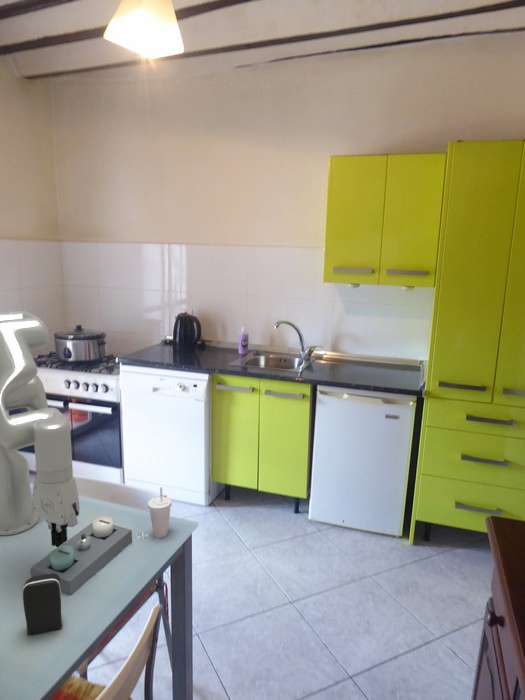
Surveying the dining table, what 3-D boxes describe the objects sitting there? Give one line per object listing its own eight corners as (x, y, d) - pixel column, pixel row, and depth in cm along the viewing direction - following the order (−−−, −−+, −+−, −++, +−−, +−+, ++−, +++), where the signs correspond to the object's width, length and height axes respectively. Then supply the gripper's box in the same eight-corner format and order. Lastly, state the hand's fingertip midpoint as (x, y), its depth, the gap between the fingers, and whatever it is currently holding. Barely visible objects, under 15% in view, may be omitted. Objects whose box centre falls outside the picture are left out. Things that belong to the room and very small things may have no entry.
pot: (75, 549, 118) (74, 536, 117) (83, 542, 121) (82, 530, 120) (84, 552, 117) (83, 539, 116) (93, 545, 120) (92, 533, 119)
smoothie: (167, 542, 127) (165, 494, 124) (144, 539, 128) (142, 491, 126) (176, 529, 133) (174, 483, 130) (154, 526, 135) (153, 480, 132)
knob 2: (89, 543, 124) (88, 523, 123) (102, 532, 129) (101, 514, 128) (104, 547, 122) (103, 528, 121) (117, 537, 127) (116, 518, 126)
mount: (31, 580, 112) (30, 567, 111) (96, 531, 132) (95, 519, 131) (70, 595, 107) (69, 581, 107) (132, 541, 127) (131, 529, 127)
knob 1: (47, 575, 112) (45, 554, 110) (63, 563, 116) (61, 543, 115) (63, 581, 110) (61, 560, 109) (79, 568, 114) (77, 548, 113)
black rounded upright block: (64, 615, 101) (60, 568, 99) (63, 629, 98) (59, 580, 95) (28, 623, 99) (24, 574, 97) (25, 637, 96) (20, 587, 93)
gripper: (16, 472, 107) (23, 543, 111) (67, 486, 102) (72, 561, 106) (43, 458, 114) (48, 526, 118) (92, 471, 108) (96, 542, 113)
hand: (59, 542), depth 112 cm, fingers closed
